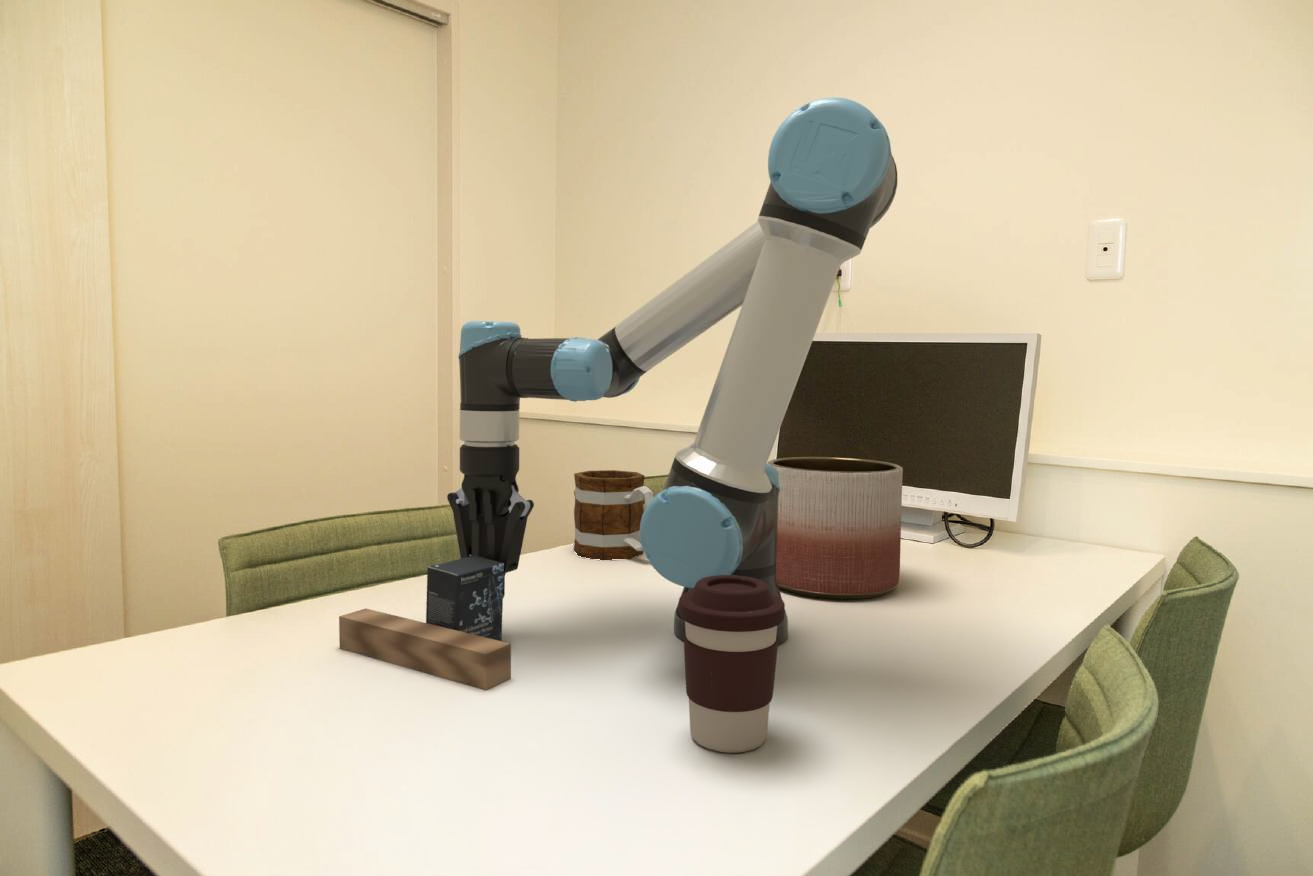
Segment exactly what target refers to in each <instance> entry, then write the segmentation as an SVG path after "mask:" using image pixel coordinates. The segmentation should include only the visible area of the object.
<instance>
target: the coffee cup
mask: <svg viewBox="0 0 1313 876" xmlns="http://www.w3.org/2000/svg"><path fill="white" fill-rule="evenodd" d="M678 602H679V615H680V617H681V618H682V619H683V620H684V621H685V629H686V632H685V633H684V641H683V653H684V671H685V672H684V675H685V691H686V696H687V698H688V708H689V709H688V710H689V711H688V712H689V731H690V736H691V737H692V739H693V741H695V742H696V743H697V744H699V746H701V747H703V748H706V749H708V750H710V751H715V752H719V753H720V752H721V753H729V754H730V753H731V754H733V753H735V754H737V753H744V752H745V753H747V752H750V751H753V750H756V749H758V748H759V747H760V746H761V745H763V744H764V743H765V741H766V739H767V734H768V727H769V726H768V723H769V717H770V716H769V715H770V705H771V704H770V703H771V701H772V699H773V696H774V687H775V677H776V676H775V675H776V669H777V668H776V667H777V660H778V659H777V658H778V657H777V655H778V648H779V645H778V638H777V636H776V634H777V625H779V624H781V623H782V622H783V620H784V613H785V611H786V608H785V607H786V603H785V601H784V600H783V598H782V599H781V598H780V597H778V596H776V595H774V594H771V592H770V590H769V587H768V585H767V584H766V583H765V582H763V581H761V580H758V579H755V578H752V577H746V576H738V575H717V576H710V577H705V578H702V579H700V580H698V581H697V583H696V584H695V587H694V589H693V590H691V591H688V592H686V593H684V594H683V595H682V596H681V595H680V597H679V599H678Z"/></svg>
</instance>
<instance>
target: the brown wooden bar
mask: <svg viewBox="0 0 1313 876" xmlns="http://www.w3.org/2000/svg"><path fill="white" fill-rule="evenodd" d="M338 619H339V620H338V627H339V628H338V633H339V639H338V640H339V649H342V650H345V651H348V652H352V653H355V654H359V655H363V656H366V657H369V658H373V659H377V660H381V661H384V662H387V663H390V664H394V665H398V666H401V667H405V668H407V669H411V670H415V671H419V672H423V673H426V674H428V675H433V676H436V677H439V678H443V679H446V680H450V681H453V682H457V683H460V684H464V685H467V686H471V687H473V688H474V687H475V688H478V689H481V690H485V691H488V690H489V689H491V688H494V687H495V686H498V685H500V684H502V683H504V682H507V681H508V680H510V679H511V678H512V673H511V672H512V643H511V642H505V641H498V640H494V639H490V638H486V637H482V636H478V635H473V634H469V633H465V632H461V631H457V630H453V629H449V628H445V627H440V626H436V625H432V624H428V623H426V622H424V621H421V620H420V621H419V620H416V619H415V620H414V619H411V618H406V617H402V616H398V615H395V614H390V613H387V612H381V611H378V610H373V609H370V608H366V607H365V608H362V609H360V610H356V611H352V612H349V613H346V614H342V615H339V616H338Z"/></svg>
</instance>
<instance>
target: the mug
mask: <svg viewBox="0 0 1313 876" xmlns="http://www.w3.org/2000/svg"><path fill="white" fill-rule="evenodd" d="M573 476H574V485H575V494H574V495H575V496H574V497H575V499H574V508H573V518H574V543H573V550H574V551H575V552H576V553H577V555H578V556H581V557H586V558H590V559H589V560H593V559H600V560H610V561H613V560H612V559H627V560H632V559H634V558H633V557H635V556H637V557H639V555H640V556H642V555H643V554H644V551H643V548H642V545H641V540H640V523H641V518H642V515H643V513H644V511H645V509H646V507H647V506H648V504H649V503H650V501H651V500H652V499H653V498H654V496H655V495H654V492H653V490H651V489H650V488H649V487H648V486H645V485H644V484H645V483H644V482H645V477H646V476H645V475H644V474H642V473H640V472H637V471H628V470H627V471H626V470H616V469H615V470H613V469H611V470H609V469H607V470H586V471H580V472H576V473H573ZM643 498H644V500H643ZM644 505H645V507H644ZM574 551H573V552H574ZM642 553H643V554H642ZM641 554H642V555H641ZM577 555H576V556H577ZM578 556H577V557H578ZM586 558H585V559H586ZM631 558H632V559H631ZM635 558H636V557H635ZM600 560H599V561H600Z"/></svg>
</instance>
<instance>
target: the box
mask: <svg viewBox="0 0 1313 876" xmlns="http://www.w3.org/2000/svg"><path fill="white" fill-rule="evenodd" d="M426 575H427V576H426V603H425V605H426V609H425V623H428V624H432V625H436V626H440V627H445V628H449V629H453V630H457V631H461V632H465V633H469V634H473V635H478V636H482V637H486V638H490V639H494V640H498V641H502V640H503V639H502V638H503V637H502V635H503V607H504V606H503V605H504V603H503V602H504V598H503V576H504V563H501V562H498V561H494V560H490V559H487V558H483V557H479V556H475V555H473V556H471V555H470V556H469V557H466V558H462V559H461V558H458V559H455V560H450V561H447V562H443V563H439V564H432V565H427V572H426ZM502 642H503V641H502Z"/></svg>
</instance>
